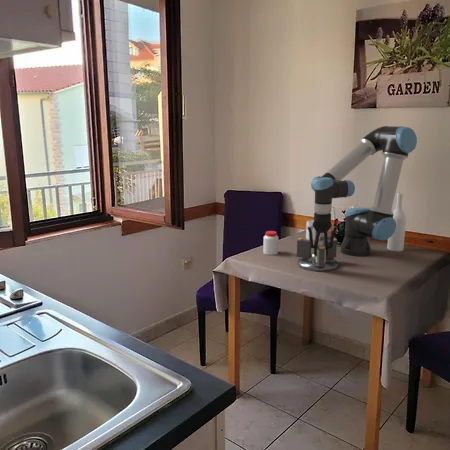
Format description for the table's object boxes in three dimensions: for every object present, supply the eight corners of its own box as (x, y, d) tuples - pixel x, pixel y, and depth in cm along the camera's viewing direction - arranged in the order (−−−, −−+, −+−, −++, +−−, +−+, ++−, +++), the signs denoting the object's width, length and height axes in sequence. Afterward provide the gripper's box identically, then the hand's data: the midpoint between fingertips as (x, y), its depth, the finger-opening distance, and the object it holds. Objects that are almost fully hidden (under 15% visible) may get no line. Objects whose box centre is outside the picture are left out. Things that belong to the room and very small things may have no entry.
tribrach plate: (333, 258, 226) (334, 245, 224) (342, 271, 207) (342, 257, 206) (295, 258, 226) (295, 245, 225) (300, 271, 208) (300, 256, 206)
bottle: (406, 249, 240) (411, 193, 232) (396, 252, 235) (401, 195, 228) (393, 246, 246) (398, 191, 239) (383, 248, 242) (388, 192, 235)
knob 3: (327, 261, 216) (328, 241, 214) (321, 258, 220) (321, 239, 218) (337, 259, 219) (338, 239, 217) (331, 256, 223) (332, 237, 221)
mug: (307, 240, 258) (307, 223, 256) (304, 236, 267) (305, 220, 264) (328, 240, 258) (329, 223, 256) (325, 236, 266) (326, 220, 264)
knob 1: (311, 258, 220) (312, 239, 218) (308, 261, 217) (309, 241, 214) (299, 256, 224) (300, 237, 221) (295, 258, 220) (296, 239, 218)
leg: (314, 263, 213) (315, 243, 211) (323, 263, 213) (324, 243, 210) (316, 268, 207) (317, 247, 204) (326, 268, 207) (327, 247, 204)
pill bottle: (277, 255, 232) (277, 234, 229) (262, 254, 233) (262, 233, 231) (278, 251, 239) (279, 230, 236) (264, 250, 241) (264, 230, 238)
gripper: (338, 210, 207) (335, 260, 213) (304, 210, 208) (302, 259, 213) (342, 214, 200) (339, 265, 205) (306, 214, 200) (304, 265, 206)
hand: (320, 262), depth 209 cm, fingers closed on leg, 2 cm apart
